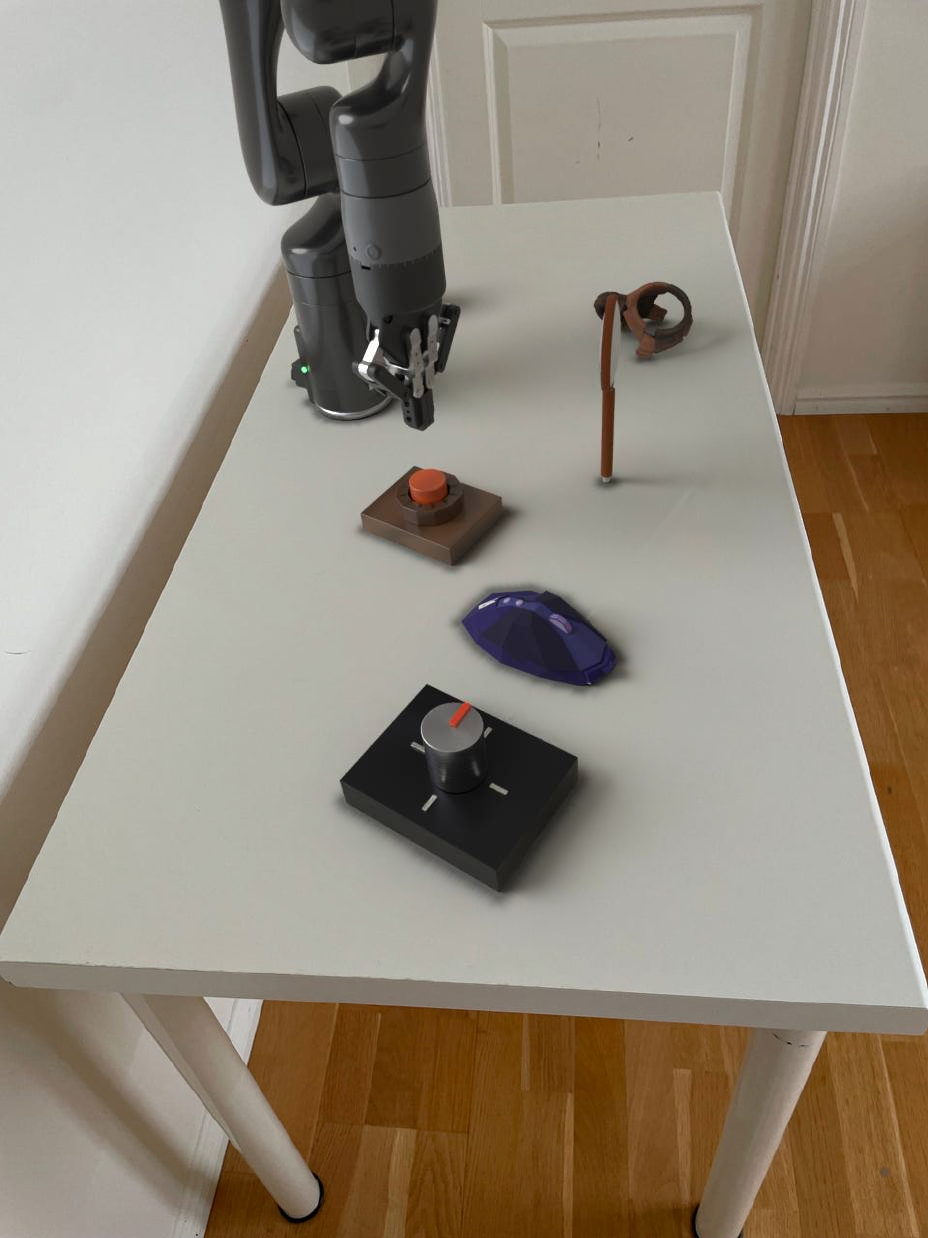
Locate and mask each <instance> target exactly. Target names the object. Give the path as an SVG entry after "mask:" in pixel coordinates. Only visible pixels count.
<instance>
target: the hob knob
mask: <svg viewBox="0 0 928 1238" xmlns="http://www.w3.org/2000/svg"><path fill="white" fill-rule="evenodd" d="M463 702H464V703H463V704H462V703H446V704H442V705H440V706H437V707H436V708H434V709H432V710H431V711H430V712H429V713H428V714H427V715H426V716H425V718H424V720H423V722H422V725H421V734H422V739H423V745H424V750H425V755H426V760H427V765H428V771H429V775H430V778H431V780H432V782H433V783H434V784H435V785H436V786H437V787H438V788H440V789H442V790H444V791H447V792H451V793H462V792H466V791H469V790H472V789H474V788H475V787H477V786H478V785H479V784H480V783H481V782H482V781H483V780H484V778H485V776H486V774H487V771H488V762H487V753H486V745H485V736H484V727H483V721H482V718H481V716H480V714H479V713H478V712H477V711H476V710H475V709H474V708H472V707H471V705H472V704H471V703H469V702H466V701H463Z"/></svg>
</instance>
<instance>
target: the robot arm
mask: <svg viewBox="0 0 928 1238" xmlns="http://www.w3.org/2000/svg"><path fill="white" fill-rule="evenodd" d="M218 4H219V8H220V14H221V19H222V25H223V30H224V37H225V44H226V49H227V58H228V65H229V66H228V67H229V74H230V79H231V88H232V95H233V96H232V97H233V105H234V111H235V119H236V125H237V131H238V132H237V133H238V138H239V146H240V151H241V155H242V160H243V163H244V167H245V171H246V174H247V176H248V179H249V181H250V184H251V186H252V188H253V191H254V193H255V194H256V195H257V197H258V198H259V199H260V201H262V202H263V203H264V204H266V205H268V206H271V207H279V206H280V207H281V206H287V205H290V204H291V205H292V204H295V203H297V202H302V201H305V200H309V199H312V198H315V197H316V199H315V201H314V202H313V204H312V206H310V208H309V209H308V210H307V212H305V213H304V215H302V216H301V217H300V218H299V219H298V220H296V221H295V222H294V223H293V224H292V225H290V226H289V227H288V228H287V229H286V230H285V231H284V233H283V234H282V236H281V239H280V253H281V257H282V262H283V265H284V270H285V273H286V278H287V282H288V286H289V292H290V296H291V299H292V303H293V308H294V314H295V317H296V321H297V324H296V325H295V326H294V328H293V335H294V336H293V337H294V340H295V344H296V348H297V353H298V357H299V358H298V359H296V360H294V361H293V362H292V363H291V370H290V379H291V380H292V381H295V385H296V386H297V387H300V388H303V389H306V392H307V395H308V400H309V402H311V403H313V404H314V406H315V408H316V410H317V411H318V412H319V413H320V414H321V415H323V416H325V417H327V418H331V419H334V420H343V421H347V420H358V419H363V418H366V417H369V416H373V415H375V414H376V413H379V412H380V411H382V410H383V409H385V408H386V407H387V406H388V405H389V404H390V403H391V401H392V400H393V399H396V400H399V401H400V405H401V411H402V418H403V422H404V424H405V425H406V426H407V427H408V428H411V429H414V430H417V431H420V432H424V431H425V430H428V428H429V427H431V426H432V425H433V424H434V423H435V403H434V396H433V387H434V386H435V383H436V376H437V374H438V373H440V374H442V373H444V371H445V370H446V366H447V363H448V360H449V356H450V352H451V348H452V345H453V341H454V337H455V335H456V331H457V328H458V324H459V320H460V316H461V312H462V310H461V307H460V305H457V304H454V303H450V302H445V301H443V296H444V295H445V293H446V291H447V277H446V267H445V259H444V258H445V257H444V250H443V239H442V230H441V221H440V213H439V212H440V211H439V205H438V200H437V195H436V192H435V188H434V183H433V178H432V169H431V160H430V151H429V150H430V149H429V141H428V133H427V132H428V131H427V119H426V113H427V97H428V96H427V95H428V85H429V84H428V83H429V73H430V66H431V57H432V50H433V45H434V38H435V33H436V25H437V17H438V6H439V0H218ZM285 31H286V34H287V35H288V38H289V40H290V41H291V44H292V45H293V46H294V48H295V49H296V50H297V51H298V52H299V54H300V55H302V56H303V57H304V58H306V59H307V60H309V61H310V62H312V63H313V64H317V65H320V66H321V65H334V64H339V63H345V62H348V61H353V60H358V59H364V58H368V57H373V56H377V55H378V56H379V55H382V54H384V57H383V60H382V63H381V66H380V68H379V71H378V72H377V74H376V75H375V77H374V78H372V79H371V80H370V81H369V82H367V83H365V84H363V85H362V86H361V87H359V88H357V89H354V90H353V91H350V92H349V93H346V94H345V95H342V94H341V92H340V91H339V90H337V89H336V88H335V87H334V86H331V85H318V86H313V87H309V88H306V89H302V90H297V91H293V92H289V93H286V94H285V93H284V94H281V95H278V64H279V57H280V51H281V46H282V45H281V44H282V41H283V37H284V34H285V33H284V32H285Z"/></svg>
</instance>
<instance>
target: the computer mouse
mask: <svg viewBox="0 0 928 1238" xmlns="http://www.w3.org/2000/svg"><path fill="white" fill-rule="evenodd" d="M460 622H461V623H462V625H463V627H464V628H465V630H466V631H467V633H468V634H469V635H470V637H471V639H472V640H473V642H474V643H475V645H477V646H478V647H480V648H481V649H482V650H483V651H485V652H486V653H487V654H488V655H490V656H491V657H492V658H493V659H494V660H496V661H497V662H498V663H500V664H502V665H504V666H507V667H510V668H513V669H515V670H517V671H521V672H524V673H526V674H529V675H532V676H534V677H538V678H541V679H545V680H550V681H555V682H560V683H565V684H568V685H574V686H582V685H583V686H584V685H586V684H587V685H588V684H589V685H592V684H593V683H595V682H597V681H599V679H602V677H603V676H604V675H606V674H610V673H611V672H612V671H613V670H614V669H615V668H616V666H617V664H616V663H615V661H616V659H617V654H615V652H614V650H613V649H612V648H611V647H609V646H608V644H607V642H608V638H607V637H605V636H604V635H603V634H602V633H601V631H599V630H598V629H597V628H596V627H595V626H594V625H593V624H592V623H591V622H590V621H589V620H588V619H587V618H586V617H585V616H584V615H582V614H581V613H580V612H579V611H578V610H576V609H575V608H574V607H573V606H572V605H571V604H569V602H567V601H566V600H565V599H564V598H562V597H561V596H559V595H557V594H555V593H553V592H551V591H548V590H545V591H544V592H542V593H540V592H537V591H534V590H517V591H503V592H502V591H501V592H491V593H490V594H489V595H488V596H486V597H485V598H484V599H483V600H482V601H480V602H479V603H478V604H477V605H475V606H474V607H473V608H472V610H471V611H469V612H468V614H467V615H466V616H464V618H463V619H462V620H460Z"/></svg>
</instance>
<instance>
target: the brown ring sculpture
mask: <svg viewBox="0 0 928 1238" xmlns="http://www.w3.org/2000/svg"><path fill="white" fill-rule="evenodd" d="M667 293H668V294H671V295H672V296H674V297H675V298H676V299H677V300H678V301H679V302H680V303H681V306H682V307H683V317H682V319H681V320H680V322H679V323H677V324H676V325H673V326H672V327H669V328H654V334H652V333H649V332H648V331H647V330H646V329H647V326H648V324H647V323H646V322H645V320H650V321H654V322H657V323H659V324H662V323H663V322H664V320H665V318H666V315H668V312H669V311H668V309H666V308H664V307H661V306H660V305H658V304H656V303H655V302H656V300H657V298H658V297H659V296H662V295H665V294H667ZM611 294H615V295H618V297H619V311H620V325H621V331H622V330H624V329H625V328H626V327H627V326H628V327H629V328H630V330H631V332H632V333H633V335H634V336H635V337H636V338H637V339H638V340H639V343H638V347H637V348H636V349H635V356H637V357H638V358H641V359H642V360H648V359H649V358H651V357H652V356H653V354H655V355H659V354H660V353H662V352H665V351H667V350H670V349H672V348H674V347H676V346H678V345H679V344H681V343H682V342H683V341H684V337H687V336H688V335H689V332H690V331H691V327H692V325H693V323H694V317H693V314H692V313H693V310H692V309H693V306H692V304H691V303H692V302H691V301H690V298H689V296H688V295H687V293H686V292H685V291H684V290H683V289H682V288H680V287H678V286H676V284H673V283H669V282H666V281H653V282H648V283H645V284H642V285H641V286H639V288H636V289H634V290H633V291H631V292H630V293H627V294H624V293H619V292H617V291H605V292H602V293H600V294H599V295H597V297H596V299H595V300H594V302H593V308H594V310H595V313H596V316H597V317H598V318H599V319H600V320H601V321H602V322H603V317H604V313H605V307H606V301H607V298H608V296H609V295H611Z"/></svg>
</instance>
